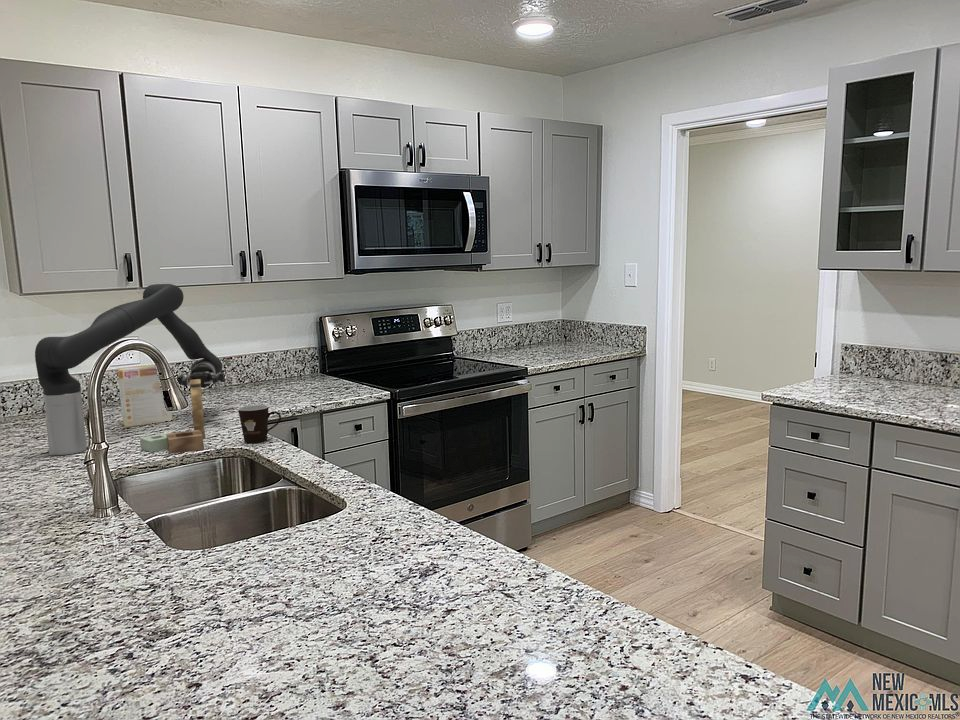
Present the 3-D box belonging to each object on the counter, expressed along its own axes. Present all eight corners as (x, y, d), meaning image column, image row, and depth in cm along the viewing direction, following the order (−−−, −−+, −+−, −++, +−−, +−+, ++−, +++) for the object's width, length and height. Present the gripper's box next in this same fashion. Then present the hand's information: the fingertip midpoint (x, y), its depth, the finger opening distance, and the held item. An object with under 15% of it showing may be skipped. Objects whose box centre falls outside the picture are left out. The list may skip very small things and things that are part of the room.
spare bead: (150, 452, 202) (149, 441, 202) (140, 448, 207) (139, 438, 206) (175, 447, 207) (174, 436, 207) (164, 443, 212) (164, 433, 211)
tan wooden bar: (195, 440, 215) (190, 381, 213) (194, 438, 218) (189, 379, 216) (206, 438, 217) (201, 380, 215) (204, 436, 220) (200, 378, 217)
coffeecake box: (169, 418, 251) (164, 363, 249) (173, 421, 245) (168, 365, 243) (122, 424, 244) (116, 367, 241) (125, 427, 238) (119, 369, 235)
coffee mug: (234, 443, 210) (231, 409, 209) (255, 436, 217) (253, 404, 216) (263, 446, 204) (261, 412, 203) (284, 439, 212) (282, 406, 211)
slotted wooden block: (169, 453, 200) (168, 439, 199) (167, 447, 208) (166, 433, 207) (204, 449, 204) (202, 435, 203) (200, 442, 212) (199, 429, 211)
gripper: (179, 365, 239) (174, 372, 224) (224, 361, 243) (222, 368, 228) (181, 387, 240) (176, 395, 225) (226, 383, 244) (224, 391, 229)
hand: (199, 382), depth 226 cm, fingers open, 8 cm apart
